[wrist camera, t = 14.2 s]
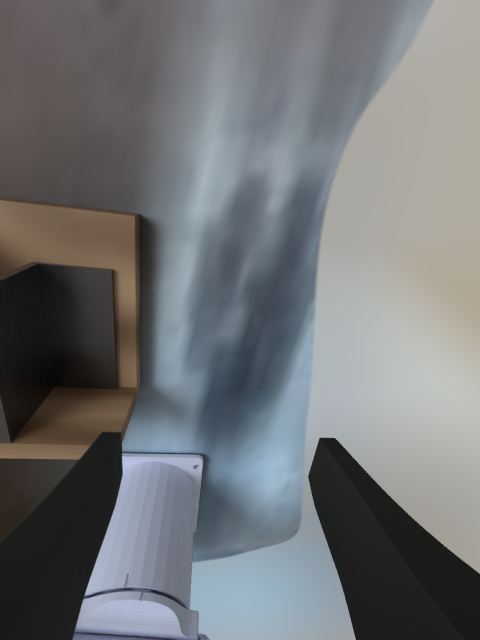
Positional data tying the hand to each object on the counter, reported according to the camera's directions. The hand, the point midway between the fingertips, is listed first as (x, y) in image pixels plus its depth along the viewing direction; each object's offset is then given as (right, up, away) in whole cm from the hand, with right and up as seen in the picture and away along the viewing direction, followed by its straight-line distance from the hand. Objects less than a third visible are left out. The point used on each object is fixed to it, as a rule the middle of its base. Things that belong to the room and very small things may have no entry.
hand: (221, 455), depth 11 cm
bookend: (-9, +4, +7) cm, 12 cm away
